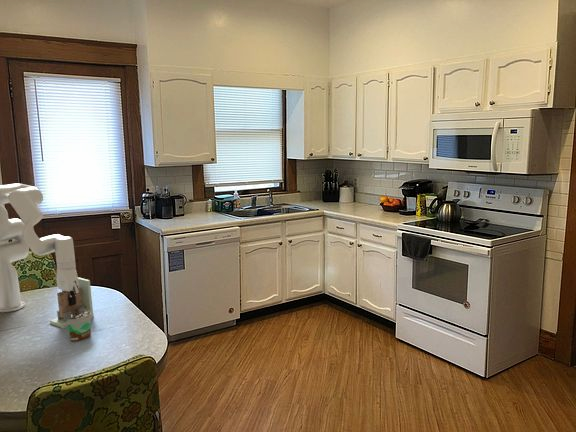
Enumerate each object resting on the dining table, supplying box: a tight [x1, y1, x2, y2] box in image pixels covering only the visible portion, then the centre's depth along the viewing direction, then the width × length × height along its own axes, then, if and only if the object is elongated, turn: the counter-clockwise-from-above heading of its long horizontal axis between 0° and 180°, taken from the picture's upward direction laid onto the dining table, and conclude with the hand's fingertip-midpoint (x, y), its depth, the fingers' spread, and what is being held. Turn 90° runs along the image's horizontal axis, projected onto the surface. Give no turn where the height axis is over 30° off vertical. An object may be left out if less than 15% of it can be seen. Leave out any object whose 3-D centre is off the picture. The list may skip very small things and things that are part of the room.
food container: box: [67, 309, 93, 343], centre depth 204 cm, size 12×6×10 cm, turn 168°
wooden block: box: [56, 287, 83, 318], centre depth 222 cm, size 10×3×11 cm, turn 146°
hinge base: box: [49, 277, 95, 329], centre depth 222 cm, size 15×10×18 cm, turn 146°
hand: (70, 303), depth 222 cm, fingers closed on wooden block, 2 cm apart
